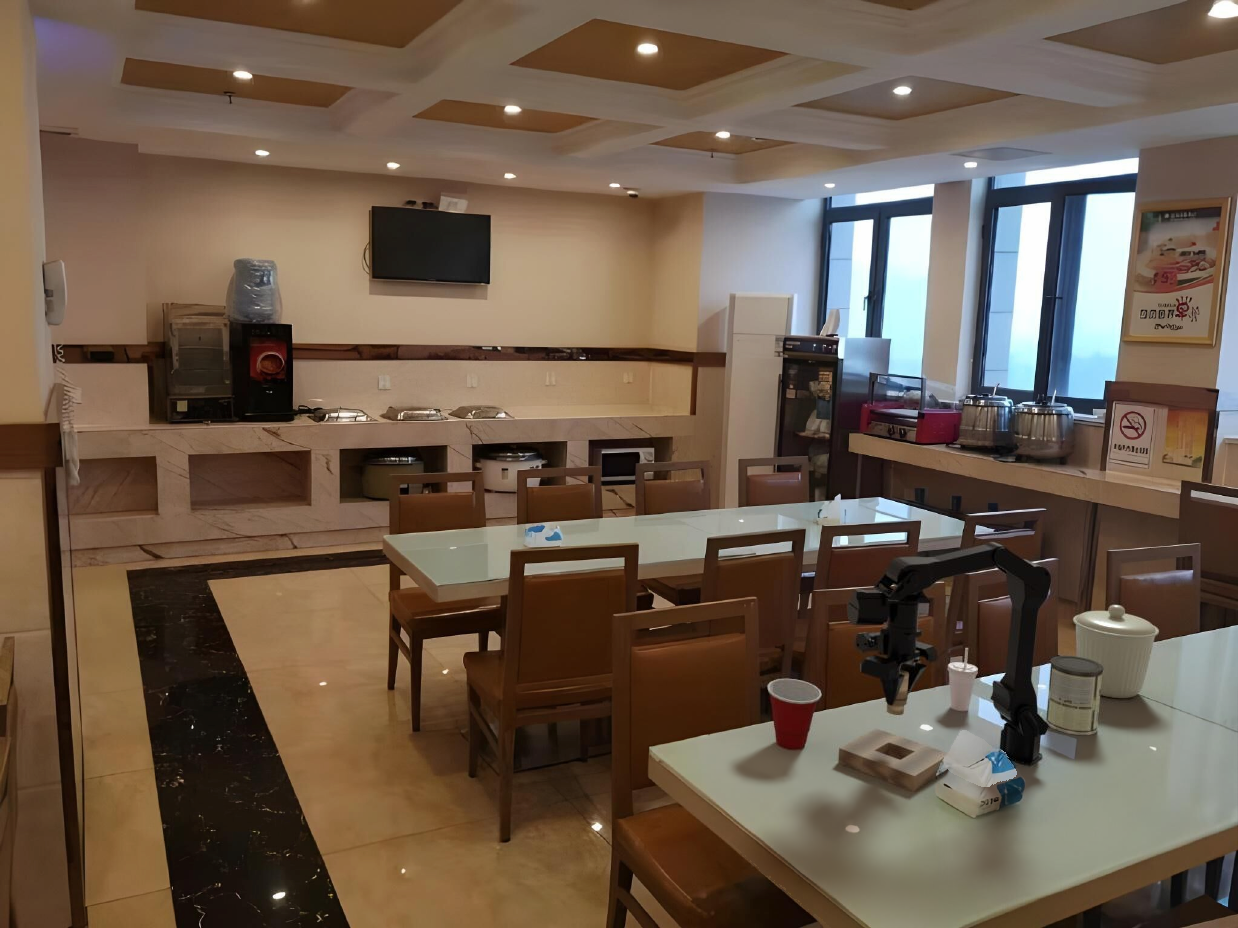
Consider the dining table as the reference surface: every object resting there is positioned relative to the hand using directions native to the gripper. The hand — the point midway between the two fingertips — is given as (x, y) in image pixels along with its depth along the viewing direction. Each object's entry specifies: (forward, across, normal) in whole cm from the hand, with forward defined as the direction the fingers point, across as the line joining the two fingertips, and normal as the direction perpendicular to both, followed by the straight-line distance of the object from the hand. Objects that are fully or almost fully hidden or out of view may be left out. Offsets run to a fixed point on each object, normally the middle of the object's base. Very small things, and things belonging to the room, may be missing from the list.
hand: (896, 701), depth 187 cm
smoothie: (+12, -36, -5) cm, 39 cm away
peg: (+2, 0, 0) cm, 2 cm away
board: (+12, +1, +1) cm, 12 cm away
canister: (+12, -75, +13) cm, 77 cm away
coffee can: (+12, -46, +16) cm, 50 cm away
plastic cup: (+13, +9, -18) cm, 23 cm away
